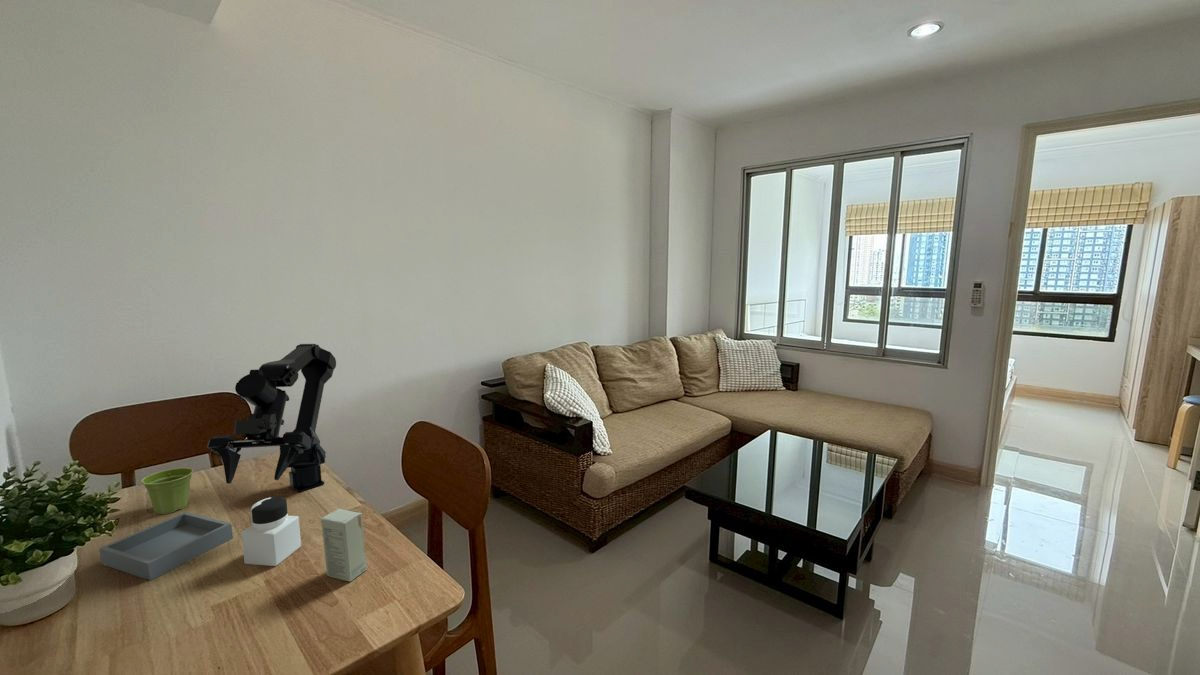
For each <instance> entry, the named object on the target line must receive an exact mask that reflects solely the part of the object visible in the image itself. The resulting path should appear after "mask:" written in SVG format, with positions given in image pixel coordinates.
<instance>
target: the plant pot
mask: <svg viewBox="0 0 1200 675" xmlns="http://www.w3.org/2000/svg"><path fill="white" fill-rule="evenodd" d="M193 473H194V469H193V468H191V467H176V468H175V467H174V468H168V469H165V470H160V471H156V472H154V473H152V474H149V475H147V476H145V477H143V478H142V479H141V482H140V483H141V484H142V485H144V487H145V489H146V490H147V492H148V495H149V499H150V501H151V504H152V506H153V507H152V508H153V510H154V513H157V514H159V515H163V514H164V515H165V514H171V513H174V512H176V511H177V510H183V509H185V508H186V507H188V506H189V500H190V499H189V498H190V487H191V485H190V484H191V479H192V474H193Z"/></svg>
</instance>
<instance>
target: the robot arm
mask: <svg viewBox="0 0 1200 675" xmlns="http://www.w3.org/2000/svg"><path fill="white" fill-rule="evenodd" d="M336 368H337V360H336V357H335V356H334V355H333V353H332V352H331V351H328V350H327V349H326V350H325V349H324V348H322V347H320V345H319V344H316V343H300V344H298V345H296V347H295V348H294V349H293V350H291V351H290V352H289V353H288V354H286V355H285V356H284V357H282V358H281V359H279V360H275V361H269V362H266V363H263V364H261V366H260V367H259V368H258V369H250V370H249V374H246V375H243V377H241V378H240V379H239V380H238V381H237V383H236V384H235V388H234V389H235V392H236V394H237V395H238V396H239V397H241V398H242V399H244V401H246V402H248V403H249V405H250V404H251V405H252V406H254V410H253V413H249V415H248V418H247V419H235V420H234V432H233V434H234V436H233V435H232V434H226V435H213V436H212V437H210V439H209V440H208V441H207V445H206V448H207V449H208V450H210V451H213V453H215V454H217V455H219V456H220V458H221V461H222V465H223V469H224V475H225V476H224V477H225V482H226V484H232V482H233V480H234V478H235V475H236V471H237V468H238V465H239V462H240V458H241V456H242V455H241V454H239V452H240V451H241V450H242V449H247V448H248V449H249V448H263V447H264V448H267V447H279V455H278V456H279V457H278V461H277V465H276V468H275V472H274V477H273V478H274V480H275V481H279V480H280V478H281V477H282V476H283V475H284V473H285V471H286V470H287V469H288V468H290V471H288V477H289V486H290V487H291V488H293V489H294V491H295V490H296V492H297V493H300V492H305V491H306V490H310V489H313V488H316V486H317V487H319V486H322V485H325V481H323V480H322V469H321V465H323V464H325V463H326V457H327V456H326V453H327V451H326V450H324V448H323V447H322V446H321V440H320V438H319V436H318V435H317V433H316V428H317V424H318V420H319V413H320V409H321V408H320V407H321V402H322V398H323V392H324V387H325V384H326V383H327V382H328V381H329V380H331V378H332V377H333V373H334V370H335V369H336ZM299 372H301V373H302V375H303V377H304V379H305V381H304V387H303V393H302V396H301V400H300V406H299V411H298V415H297V420H296V424H295V429H293V431H286V432H285V433H284V434H283V435H282V436H279V435H280V430H281V426H283V425H285V420H284V419H283V418H284V412H285V408H286V402H289V401H290V397H289V395H288V394H287V392H286V390H283V389H281V388H284V387H285V388H288V387H290V388H291V387H293V386H294V385H295V383H297V381H298V379H299ZM240 435H241V437H242V438H241V439H240V438H238V437H235V436H240Z"/></svg>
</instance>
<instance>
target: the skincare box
mask: <svg viewBox="0 0 1200 675" xmlns="http://www.w3.org/2000/svg"><path fill="white" fill-rule="evenodd" d="M320 520H321V529H322V530H321V531H322V538H323V550H324V558H325V559H324V560H325V568H326V569H325V570H326V576H328V577H330V578H334V579H337V580H341V581H345V582H346V581H347V582H352V581H354V580H355V579H356V578H357V577H359V576H360V575H361V574H363V573H364V572H365V571H366V570H368V564H367V554H366V543H365V533H364V532H365V531H364V521H363V512H361V511H360V512H359V511H355V510H350V509H344V508H340V507H339V508H337V509H335V510H334V511H332V512H330V513H329V514H327V515H325V516H323V517H321V518H320Z"/></svg>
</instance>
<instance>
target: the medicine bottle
mask: <svg viewBox="0 0 1200 675" xmlns="http://www.w3.org/2000/svg"><path fill="white" fill-rule="evenodd" d="M287 504H288V502H287V499H286V498H284V497H281V496H271V497H266V498H264V499H261V500H259V501H257V502H255V503H254V504H253V505H252V506H251V507H250V515H251V525H250V526H248V527H247V528H245V529H244V530H242V531H241V534H240V535H241V544H242V552H243V562H244V564H245V565H255V566H256V565H257V566H268V567H269V566H270V567H278V565H279V564H281V563H282V562H283V561H284V560H286V559H287V558H288V557H290V556H291V555H292V554H293V553H295V552H296V551H297V550H299V548H301V546H302V540H301V538H302V537H301V530H300V517H299V516H298V515H289V514H288V505H287Z"/></svg>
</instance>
